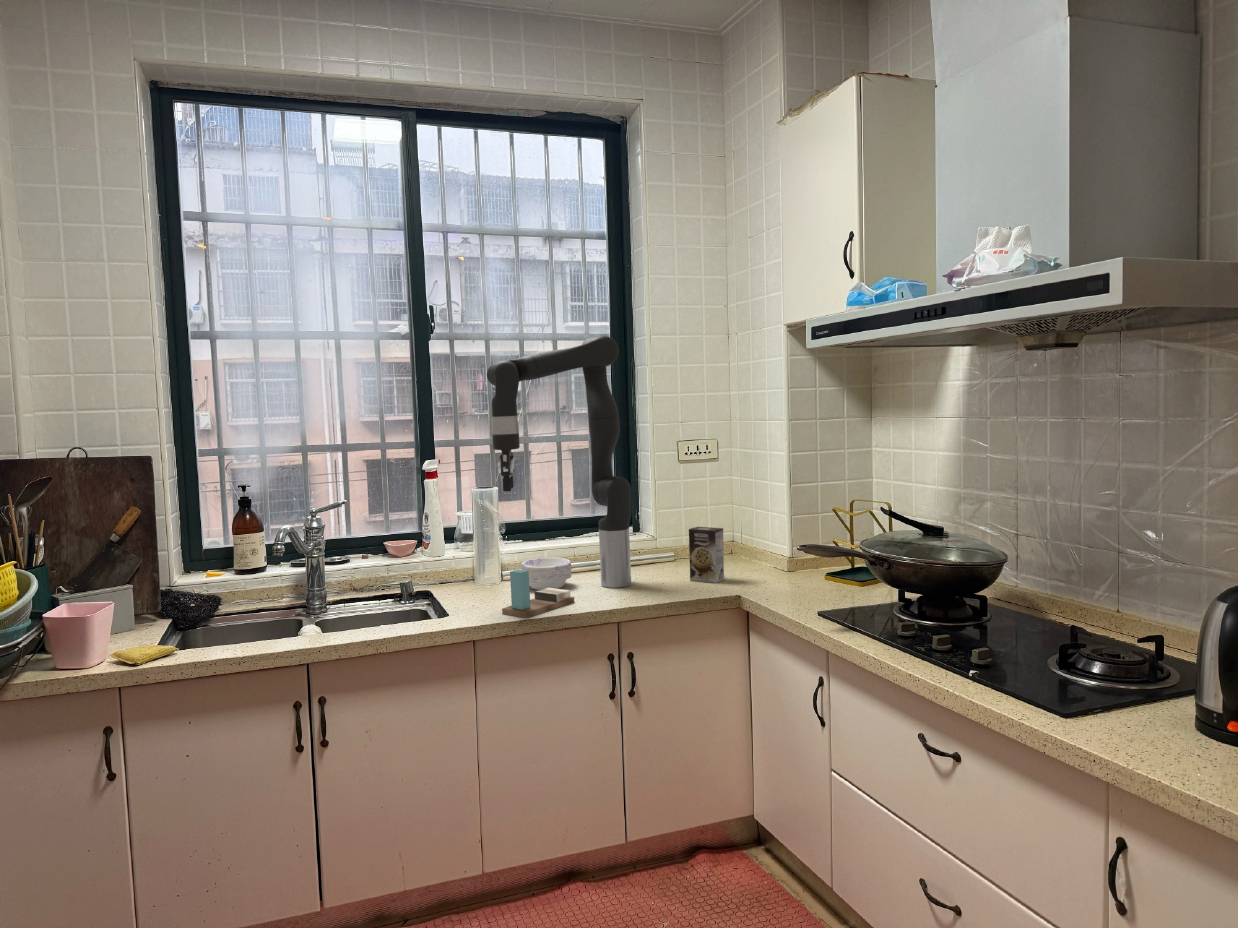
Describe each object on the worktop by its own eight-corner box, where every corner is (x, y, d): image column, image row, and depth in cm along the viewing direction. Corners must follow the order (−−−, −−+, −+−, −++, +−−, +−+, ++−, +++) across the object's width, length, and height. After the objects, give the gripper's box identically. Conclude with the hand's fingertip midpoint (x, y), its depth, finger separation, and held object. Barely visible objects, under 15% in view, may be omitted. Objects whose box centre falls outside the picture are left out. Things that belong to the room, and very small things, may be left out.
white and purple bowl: (570, 591, 253) (569, 565, 253) (519, 593, 254) (517, 567, 253) (574, 581, 269) (573, 556, 268) (526, 582, 269) (524, 557, 268)
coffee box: (689, 581, 261) (687, 529, 260) (698, 577, 267) (696, 525, 266) (716, 583, 257) (714, 530, 255) (725, 579, 262) (723, 527, 261)
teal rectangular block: (519, 605, 231) (517, 569, 231) (530, 607, 229) (528, 570, 228) (511, 608, 229) (509, 571, 228) (522, 609, 227) (520, 572, 226)
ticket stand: (550, 598, 245) (549, 586, 245) (574, 602, 240) (573, 589, 239) (502, 613, 230) (501, 600, 229) (526, 617, 224) (526, 604, 224)
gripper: (517, 432, 233) (520, 491, 235) (520, 431, 248) (523, 486, 249) (489, 434, 233) (492, 493, 234) (494, 432, 247) (497, 487, 248)
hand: (508, 489), depth 242 cm, fingers open, 8 cm apart
